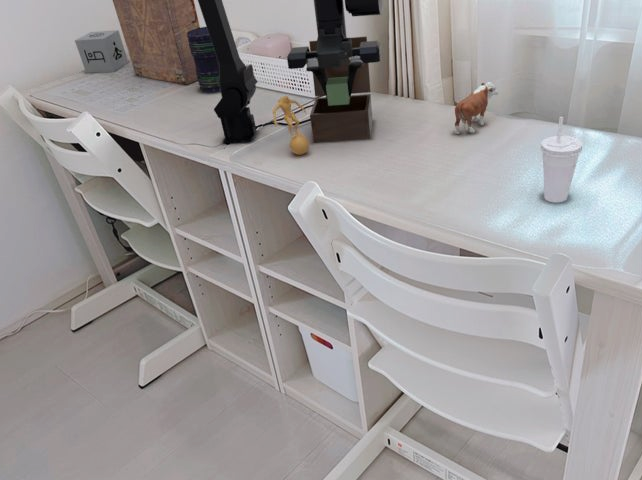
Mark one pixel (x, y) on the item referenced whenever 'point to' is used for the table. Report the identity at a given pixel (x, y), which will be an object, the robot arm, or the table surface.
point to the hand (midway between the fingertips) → (338, 96)
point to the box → (342, 119)
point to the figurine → (297, 142)
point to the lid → (345, 71)
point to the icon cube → (101, 51)
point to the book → (159, 37)
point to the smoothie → (559, 164)
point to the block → (337, 91)
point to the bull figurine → (474, 106)
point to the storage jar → (204, 60)
